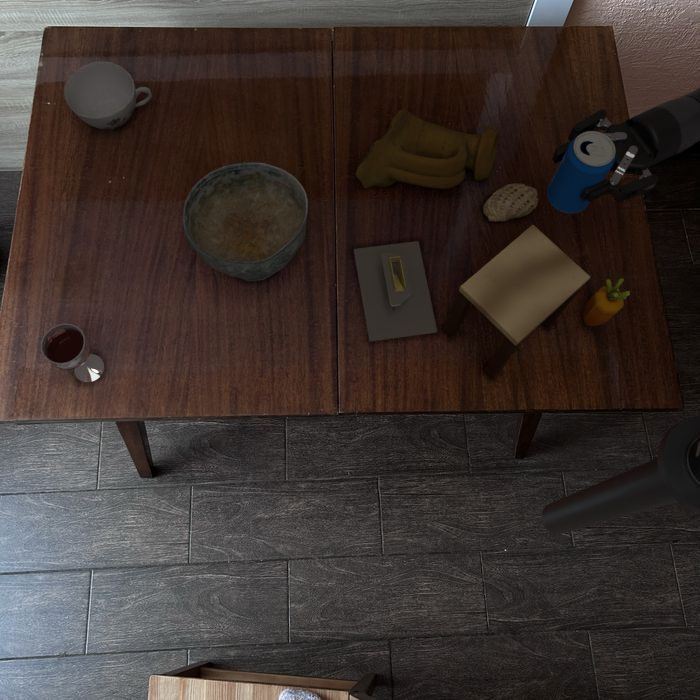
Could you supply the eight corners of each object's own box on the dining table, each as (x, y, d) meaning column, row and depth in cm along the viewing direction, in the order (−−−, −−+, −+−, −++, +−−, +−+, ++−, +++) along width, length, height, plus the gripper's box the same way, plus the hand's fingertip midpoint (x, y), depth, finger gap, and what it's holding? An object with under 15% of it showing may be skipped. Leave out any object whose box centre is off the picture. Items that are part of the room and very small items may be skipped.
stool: (554, 321, 122) (590, 277, 105) (491, 379, 118) (518, 342, 101) (505, 274, 125) (532, 224, 108) (442, 329, 121) (460, 286, 104)
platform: (418, 241, 126) (422, 222, 120) (437, 332, 120) (443, 318, 114) (353, 249, 125) (354, 231, 119) (369, 341, 120) (371, 327, 113)
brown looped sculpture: (388, 81, 129) (505, 101, 124) (387, 141, 139) (495, 162, 134) (354, 135, 118) (481, 159, 113) (355, 196, 128) (472, 221, 123)
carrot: (567, 315, 122) (598, 278, 108) (592, 306, 123) (627, 268, 109) (580, 340, 121) (613, 306, 106) (605, 331, 121) (642, 296, 107)
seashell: (508, 240, 130) (546, 199, 128) (506, 235, 124) (546, 191, 123) (477, 214, 132) (514, 173, 130) (474, 207, 126) (512, 164, 124)
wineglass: (110, 348, 118) (87, 322, 107) (108, 386, 116) (83, 364, 104) (70, 349, 118) (42, 323, 106) (66, 388, 115) (38, 365, 104)
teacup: (79, 148, 131) (64, 120, 124) (77, 94, 135) (62, 64, 128) (160, 138, 132) (149, 110, 125) (155, 85, 136) (145, 55, 129)
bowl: (323, 223, 127) (322, 176, 113) (288, 316, 121) (282, 278, 107) (222, 193, 129) (209, 143, 114) (182, 283, 122) (163, 242, 108)
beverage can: (551, 174, 106) (576, 122, 95) (592, 186, 105) (622, 135, 94) (541, 208, 104) (565, 160, 93) (583, 221, 103) (613, 174, 92)
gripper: (644, 77, 99) (547, 122, 96) (707, 152, 95) (608, 201, 92) (624, 112, 106) (533, 155, 103) (682, 183, 102) (589, 230, 99)
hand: (569, 176), depth 98 cm, fingers closed on beverage can, 6 cm apart
